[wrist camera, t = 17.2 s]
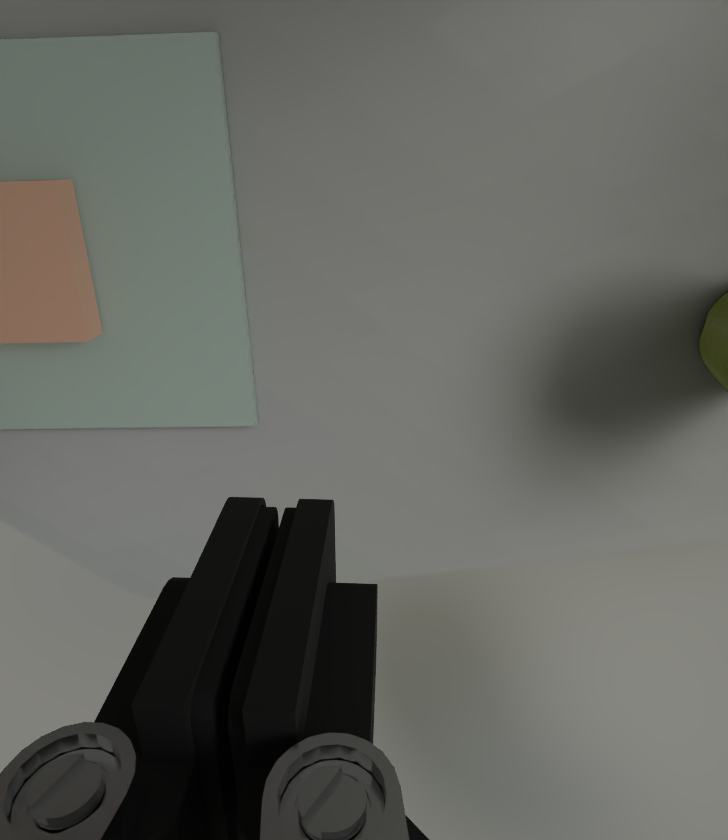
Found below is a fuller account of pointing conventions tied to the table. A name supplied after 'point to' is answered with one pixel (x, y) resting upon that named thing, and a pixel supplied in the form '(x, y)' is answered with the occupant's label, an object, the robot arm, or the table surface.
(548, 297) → the table surface
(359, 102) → the table surface
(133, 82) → the mat
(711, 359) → the plant pot
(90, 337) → the tile
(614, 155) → the table surface
